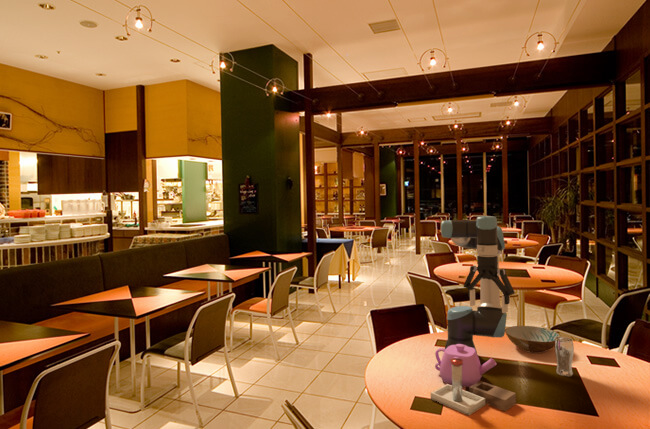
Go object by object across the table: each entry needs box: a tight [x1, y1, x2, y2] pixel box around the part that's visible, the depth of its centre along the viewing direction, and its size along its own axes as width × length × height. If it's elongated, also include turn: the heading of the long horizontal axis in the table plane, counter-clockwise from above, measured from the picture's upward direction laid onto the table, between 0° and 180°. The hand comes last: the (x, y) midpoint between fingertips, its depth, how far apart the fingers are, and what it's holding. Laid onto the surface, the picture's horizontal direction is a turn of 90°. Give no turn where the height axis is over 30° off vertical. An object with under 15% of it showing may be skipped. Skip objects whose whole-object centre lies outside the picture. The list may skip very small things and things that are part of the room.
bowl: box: [505, 325, 562, 354], centre depth 201 cm, size 25×25×8 cm
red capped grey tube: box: [450, 358, 463, 402], centre depth 150 cm, size 4×4×15 cm
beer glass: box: [554, 335, 575, 377], centre depth 171 cm, size 7×7×15 cm
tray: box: [430, 383, 486, 416], centre depth 150 cm, size 16×11×2 cm
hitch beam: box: [468, 380, 517, 412], centre depth 150 cm, size 14×8×4 cm, turn 39°
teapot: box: [434, 344, 497, 388], centre depth 170 cm, size 19×21×14 cm
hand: (488, 308), depth 159 cm, fingers open, 13 cm apart
